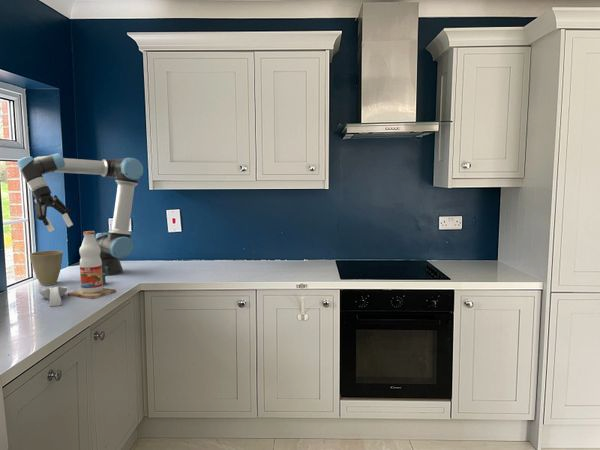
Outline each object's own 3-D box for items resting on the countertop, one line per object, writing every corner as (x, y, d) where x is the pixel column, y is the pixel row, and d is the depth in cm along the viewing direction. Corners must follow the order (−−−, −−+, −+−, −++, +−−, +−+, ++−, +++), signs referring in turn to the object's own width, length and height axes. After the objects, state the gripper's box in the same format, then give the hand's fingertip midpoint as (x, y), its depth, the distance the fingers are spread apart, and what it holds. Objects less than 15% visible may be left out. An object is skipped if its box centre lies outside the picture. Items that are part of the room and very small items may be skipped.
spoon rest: (38, 296, 221) (37, 281, 220) (66, 293, 227) (65, 278, 226) (40, 308, 201) (39, 292, 200) (71, 304, 207) (70, 288, 206)
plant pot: (27, 284, 245) (24, 253, 243) (57, 279, 256) (55, 249, 254) (38, 288, 235) (36, 256, 233) (69, 283, 246) (67, 252, 244)
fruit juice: (106, 288, 229) (103, 230, 226) (97, 293, 220) (94, 232, 217) (87, 288, 229) (84, 230, 226) (77, 293, 220) (73, 232, 217)
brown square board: (92, 288, 234) (92, 286, 234) (115, 291, 228) (115, 289, 228) (68, 295, 221) (67, 293, 221) (92, 299, 215) (91, 296, 215)
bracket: (83, 285, 241) (82, 268, 240) (99, 281, 249) (98, 264, 248) (96, 287, 237) (95, 269, 236) (111, 283, 245) (110, 266, 244)
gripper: (51, 189, 241) (71, 227, 243) (14, 194, 217) (37, 236, 218) (62, 182, 239) (83, 220, 241) (26, 187, 215) (50, 230, 217)
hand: (61, 228), depth 230 cm, fingers open, 13 cm apart
